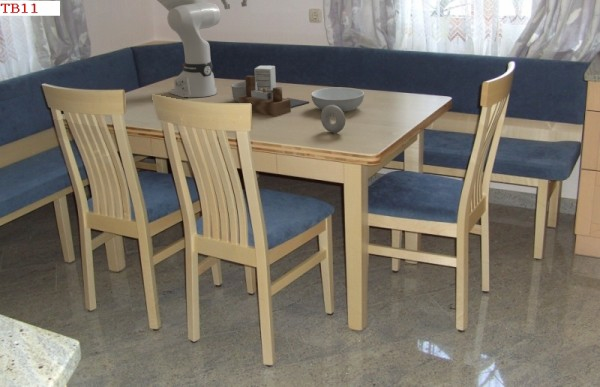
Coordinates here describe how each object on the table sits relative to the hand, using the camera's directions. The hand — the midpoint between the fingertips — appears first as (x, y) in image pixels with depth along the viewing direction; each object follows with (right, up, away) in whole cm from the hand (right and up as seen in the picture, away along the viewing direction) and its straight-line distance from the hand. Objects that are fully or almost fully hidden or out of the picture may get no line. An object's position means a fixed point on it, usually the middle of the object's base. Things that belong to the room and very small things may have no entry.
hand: (236, 7), depth 298 cm
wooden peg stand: (+12, -42, -2) cm, 43 cm away
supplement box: (+11, -33, +23) cm, 41 cm away
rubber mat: (+21, -38, +8) cm, 44 cm away
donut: (+37, -53, -35) cm, 74 cm away
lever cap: (+11, -37, -3) cm, 39 cm away
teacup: (+3, -36, +15) cm, 39 cm away
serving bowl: (+41, -42, -4) cm, 59 cm away
